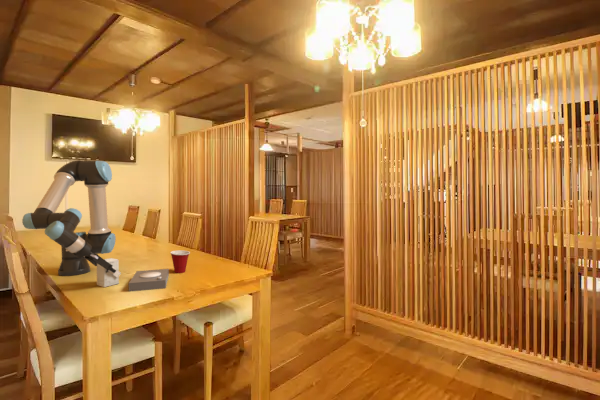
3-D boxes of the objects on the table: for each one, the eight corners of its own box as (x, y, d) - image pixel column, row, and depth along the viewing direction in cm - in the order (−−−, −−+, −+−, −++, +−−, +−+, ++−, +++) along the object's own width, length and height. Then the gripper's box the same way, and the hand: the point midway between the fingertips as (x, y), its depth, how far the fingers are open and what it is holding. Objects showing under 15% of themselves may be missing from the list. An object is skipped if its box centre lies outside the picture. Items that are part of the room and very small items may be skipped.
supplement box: (104, 287, 158) (103, 261, 158) (96, 285, 162) (96, 260, 162) (119, 283, 164) (119, 259, 164) (111, 281, 168) (111, 257, 168)
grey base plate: (136, 278, 175) (136, 269, 174) (168, 275, 180) (168, 267, 180) (128, 291, 152) (128, 280, 152) (165, 288, 157) (165, 278, 157)
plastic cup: (183, 275, 182) (183, 253, 182) (166, 273, 184) (166, 253, 184) (193, 270, 192) (193, 250, 192) (177, 269, 195) (177, 249, 194)
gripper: (63, 251, 156) (100, 277, 170) (81, 256, 144) (119, 283, 158) (76, 239, 160) (110, 265, 174) (94, 243, 148) (130, 270, 162)
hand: (115, 274), depth 166 cm, fingers closed on supplement box, 7 cm apart
